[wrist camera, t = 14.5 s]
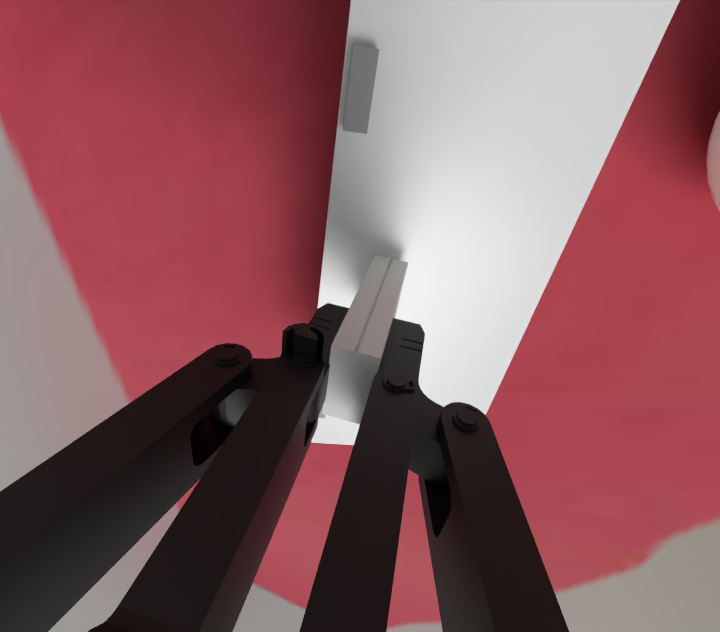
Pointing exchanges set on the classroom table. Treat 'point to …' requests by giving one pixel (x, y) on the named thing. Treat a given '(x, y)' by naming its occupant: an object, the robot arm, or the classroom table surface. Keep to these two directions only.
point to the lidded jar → (714, 162)
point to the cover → (473, 164)
